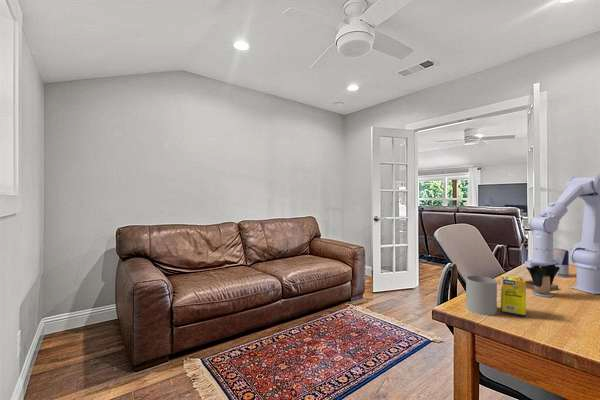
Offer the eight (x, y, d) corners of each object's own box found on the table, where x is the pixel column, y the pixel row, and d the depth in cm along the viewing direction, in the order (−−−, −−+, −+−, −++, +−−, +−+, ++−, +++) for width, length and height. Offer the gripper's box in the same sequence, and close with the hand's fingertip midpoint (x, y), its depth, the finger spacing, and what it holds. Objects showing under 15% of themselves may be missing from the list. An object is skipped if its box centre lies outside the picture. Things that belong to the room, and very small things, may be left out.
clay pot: (541, 289, 108) (541, 273, 108) (553, 293, 104) (553, 276, 104) (530, 289, 108) (530, 274, 108) (542, 293, 103) (542, 277, 103)
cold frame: (536, 283, 119) (536, 279, 119) (558, 289, 111) (558, 285, 111) (517, 285, 117) (518, 281, 117) (538, 291, 109) (538, 287, 109)
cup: (501, 316, 87) (502, 284, 87) (472, 314, 88) (472, 282, 88) (489, 306, 95) (489, 276, 95) (462, 304, 97) (462, 275, 97)
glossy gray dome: (540, 291, 109) (540, 290, 109) (557, 296, 103) (557, 295, 103) (528, 292, 108) (528, 291, 108) (545, 298, 102) (545, 296, 102)
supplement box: (526, 318, 86) (526, 281, 85) (501, 313, 89) (501, 278, 89) (523, 311, 91) (523, 277, 91) (500, 307, 94) (500, 274, 94)
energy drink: (572, 277, 127) (572, 250, 127) (559, 277, 127) (560, 250, 127) (561, 274, 133) (561, 248, 132) (549, 274, 133) (549, 248, 132)
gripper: (546, 246, 111) (546, 280, 111) (516, 248, 107) (516, 283, 108) (567, 249, 104) (566, 286, 104) (536, 251, 101) (536, 289, 101)
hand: (542, 285), depth 105 cm, fingers closed on clay pot, 4 cm apart
